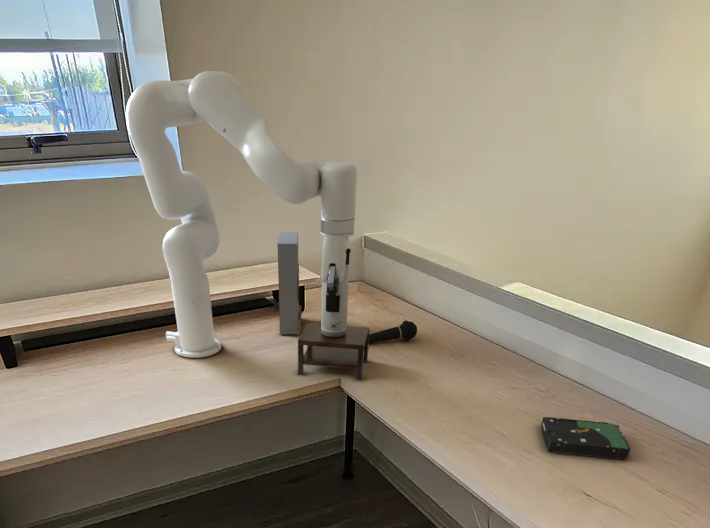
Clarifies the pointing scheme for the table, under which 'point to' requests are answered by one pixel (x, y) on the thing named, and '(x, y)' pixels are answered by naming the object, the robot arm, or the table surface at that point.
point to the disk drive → (584, 438)
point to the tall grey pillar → (289, 283)
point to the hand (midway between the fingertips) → (335, 306)
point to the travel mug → (337, 321)
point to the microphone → (395, 333)
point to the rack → (333, 348)
